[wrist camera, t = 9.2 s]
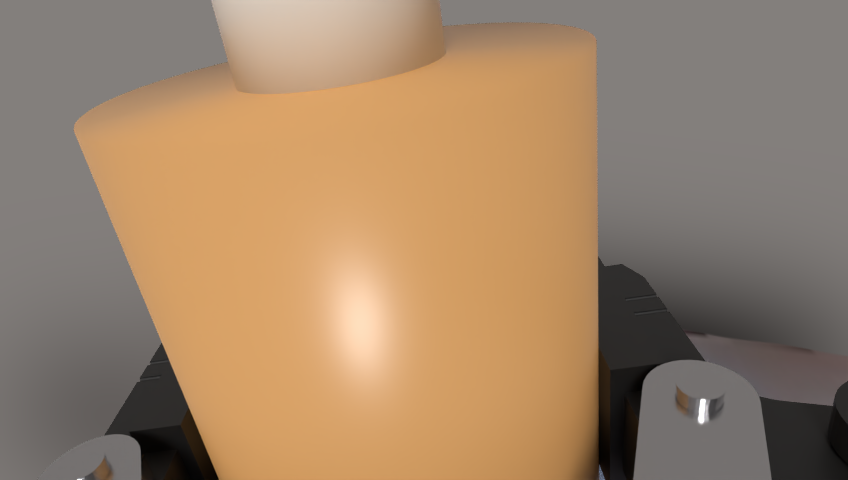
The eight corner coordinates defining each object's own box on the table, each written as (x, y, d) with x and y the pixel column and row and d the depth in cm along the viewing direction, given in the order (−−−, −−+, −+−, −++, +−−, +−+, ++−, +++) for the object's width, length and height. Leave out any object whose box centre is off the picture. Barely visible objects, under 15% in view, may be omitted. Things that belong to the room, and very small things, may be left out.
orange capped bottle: (407, 508, 15) (274, -94, 9) (627, 589, 13) (647, -179, 7) (265, 743, 11) (-159, -85, 5) (551, 938, 8) (406, -318, 2)
